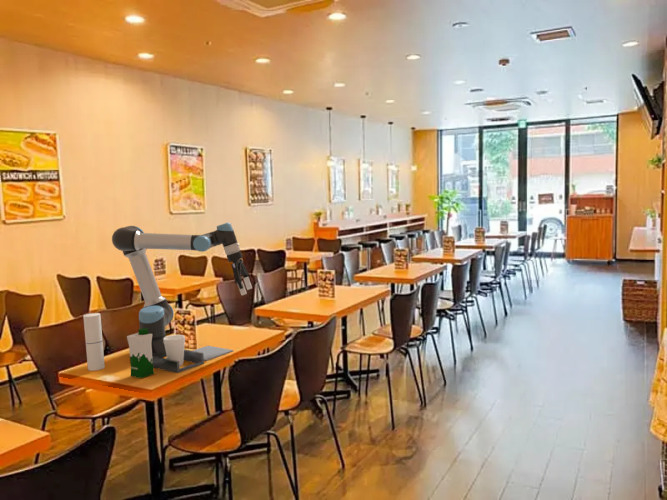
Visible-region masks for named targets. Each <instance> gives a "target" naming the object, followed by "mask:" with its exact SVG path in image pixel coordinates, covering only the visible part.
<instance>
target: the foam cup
mask: <svg viewBox="0 0 667 500" xmlns="http://www.w3.org/2000/svg"><path fill="white" fill-rule="evenodd" d="M163 340H164V345H165V350H166V354H167V356H166V358H167V359H171V360H176V361H179V367H181V366H182V367H183V365H184V349H185V345H186V344H185V342H186V337H185V335H183V334H173V335H172V334H171V335H168V336H165V337H164V338H163Z"/></svg>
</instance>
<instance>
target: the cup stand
mask: <svg viewBox="0 0 667 500" xmlns="http://www.w3.org/2000/svg"><path fill="white" fill-rule="evenodd" d="M152 359H153V368H154V369H157V370H163V371H167V372H171V373H176V374H179V373H182V372H184V371H188V370H190V369H193V368H196V367H198V366H200V365H204V364H205V361H204V355H203V353H201V352H195V351H193V350H189V349H185V348H184V360H183V362H184V361H185V362H190V363H192V364H188V365H186V366H182V367H181V366H179V361H176V360H171V359H167V357H162V358H161V357H156V356H152Z"/></svg>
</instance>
